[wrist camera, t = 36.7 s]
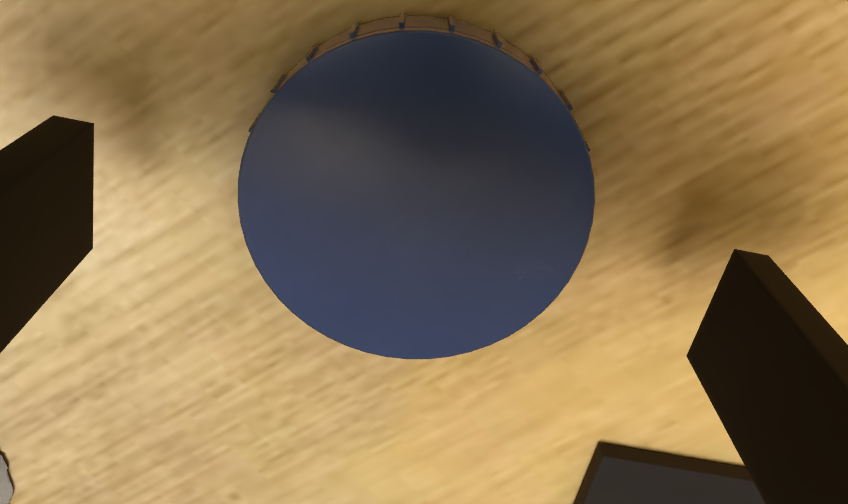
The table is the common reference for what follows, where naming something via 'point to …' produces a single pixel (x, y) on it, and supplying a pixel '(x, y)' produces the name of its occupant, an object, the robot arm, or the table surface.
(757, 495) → the mat
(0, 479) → the toy car
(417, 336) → the lid
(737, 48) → the table surface
